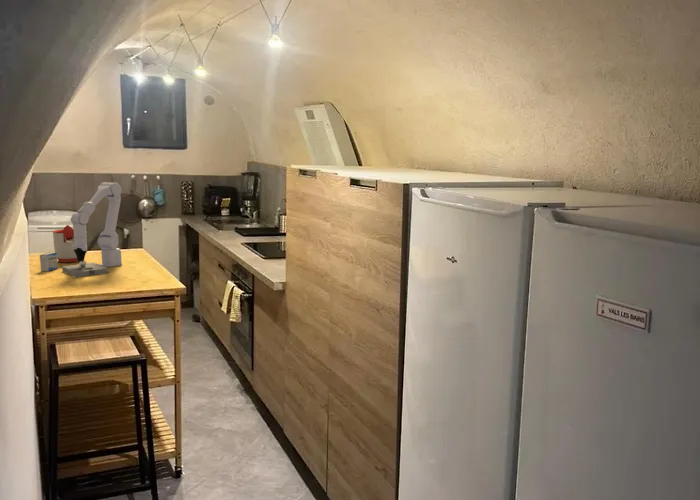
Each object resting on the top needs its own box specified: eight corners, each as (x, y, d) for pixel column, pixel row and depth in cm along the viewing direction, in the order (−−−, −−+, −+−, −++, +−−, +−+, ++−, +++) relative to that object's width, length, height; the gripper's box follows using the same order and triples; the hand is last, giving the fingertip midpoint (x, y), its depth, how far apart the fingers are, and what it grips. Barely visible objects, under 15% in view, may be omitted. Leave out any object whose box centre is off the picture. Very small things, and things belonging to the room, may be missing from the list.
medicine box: (48, 271, 333) (47, 254, 332) (40, 271, 334) (39, 254, 333) (58, 268, 341) (57, 252, 339) (50, 268, 342) (49, 251, 340)
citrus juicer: (55, 265, 350) (53, 228, 347) (53, 259, 365) (51, 224, 362) (87, 262, 357) (84, 226, 354) (83, 257, 372) (81, 222, 369)
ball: (84, 260, 335) (85, 258, 332) (86, 266, 334) (87, 265, 331) (77, 261, 333) (78, 260, 330) (79, 268, 333) (80, 267, 330)
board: (94, 267, 344) (94, 262, 344) (108, 273, 329) (108, 268, 329) (62, 271, 334) (62, 266, 334) (75, 277, 319) (75, 272, 319)
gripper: (67, 235, 334) (68, 261, 336) (76, 238, 323) (77, 265, 325) (81, 234, 338) (82, 260, 340) (91, 237, 327) (92, 264, 329)
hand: (81, 263), depth 333 cm, fingers closed, pressing on ball
